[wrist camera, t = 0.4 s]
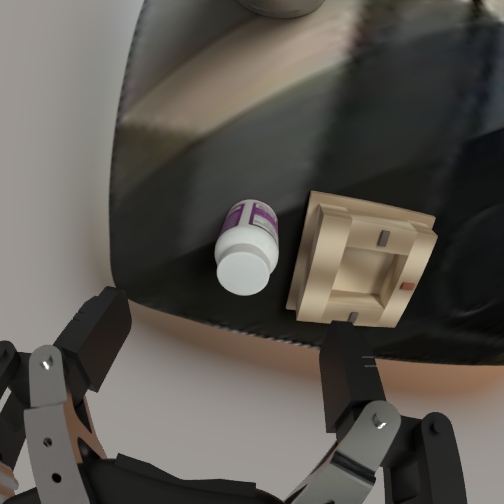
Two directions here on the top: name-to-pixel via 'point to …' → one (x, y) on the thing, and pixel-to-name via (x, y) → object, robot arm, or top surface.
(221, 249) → the pill bottle
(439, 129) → the top surface
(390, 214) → the holder
